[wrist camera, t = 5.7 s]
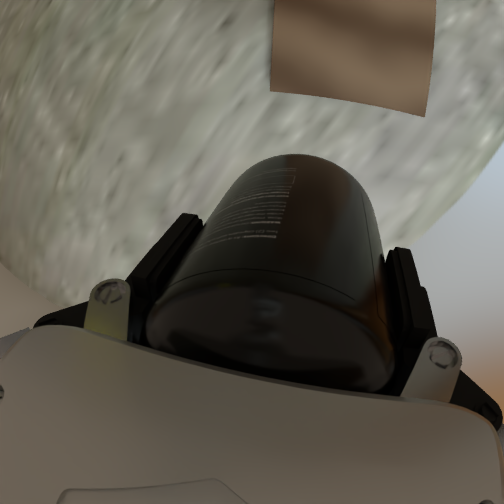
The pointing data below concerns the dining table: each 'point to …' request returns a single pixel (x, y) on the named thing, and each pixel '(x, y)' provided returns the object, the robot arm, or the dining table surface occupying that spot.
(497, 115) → the dining table surface
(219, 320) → the supplement bottle
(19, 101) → the dining table surface
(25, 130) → the dining table surface
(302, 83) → the walnut board
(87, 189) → the dining table surface
